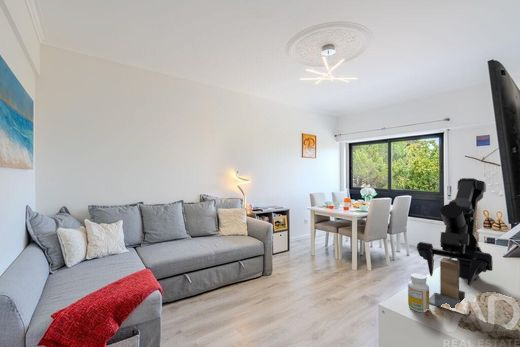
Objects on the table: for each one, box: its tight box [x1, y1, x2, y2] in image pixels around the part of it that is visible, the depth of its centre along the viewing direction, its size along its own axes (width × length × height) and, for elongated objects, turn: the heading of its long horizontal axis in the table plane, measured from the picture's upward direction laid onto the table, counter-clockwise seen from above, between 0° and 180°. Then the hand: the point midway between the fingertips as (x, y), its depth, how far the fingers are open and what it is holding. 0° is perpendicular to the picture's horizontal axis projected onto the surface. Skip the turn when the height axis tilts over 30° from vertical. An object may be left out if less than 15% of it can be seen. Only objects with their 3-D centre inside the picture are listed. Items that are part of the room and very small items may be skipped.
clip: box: [429, 289, 466, 308], centre depth 78 cm, size 8×10×4 cm
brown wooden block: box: [439, 257, 460, 299], centre depth 78 cm, size 4×4×13 cm
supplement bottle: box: [407, 272, 430, 313], centre depth 76 cm, size 5×5×10 cm
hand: (448, 280), depth 77 cm, fingers open, 9 cm apart
